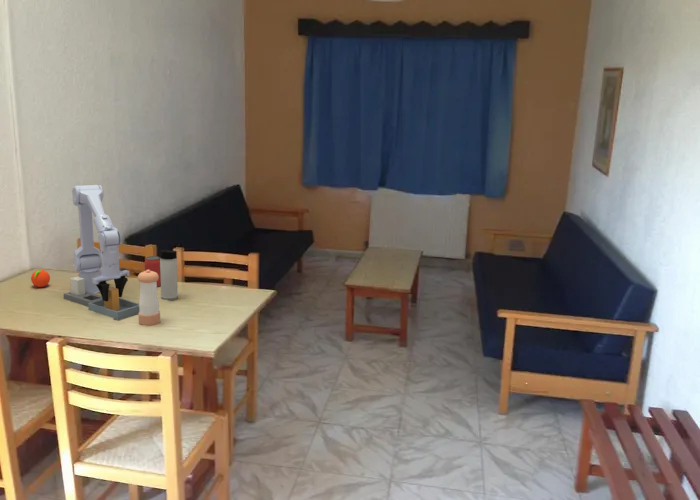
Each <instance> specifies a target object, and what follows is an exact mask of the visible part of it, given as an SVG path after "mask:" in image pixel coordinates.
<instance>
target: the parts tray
mask: <svg viewBox="0 0 700 500" xmlns="http://www.w3.org/2000/svg"><path fill="white" fill-rule="evenodd" d="M87 307H88V311H92V312H94V313H98V314H100V315H103V316H107V317H109V318H112V319H113V320H115V321H120V320H121V321H122V320H124V319H126V318H130V317H132V316H133V317H134V316H136V315H139V312H140V310H139V303H138V302H135V301H131V300H128V299H124V298H122V297H119V308H120V309H119V310H116V311H114V310H111V309H108V308H105V304H104V301H103V299H101V300H98V301H94V302H91V303H88V306H87Z"/></svg>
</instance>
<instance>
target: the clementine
mask: <svg viewBox="0 0 700 500" xmlns="http://www.w3.org/2000/svg"><path fill="white" fill-rule="evenodd" d="M50 280H51V276H50V273H49V272H48V271H46V270H44V269H37V270H35V271H34V272H32V274H31V277H30V281H31V283H32V285H34V286H35V287H38V288H44V287H46V286H47V285H49V283H50V282H51V281H50Z"/></svg>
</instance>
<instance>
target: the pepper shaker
mask: <svg viewBox="0 0 700 500" xmlns="http://www.w3.org/2000/svg"><path fill="white" fill-rule="evenodd" d="M158 278H159V276H158V274H157V273H156V272H153V271H150V270H146V271H145V270H143V271H142V272H140V273H139V274H138V275H137V281H138V282H139V283H140V284H139V285H140V286H139V289H140V295H139V300H138V301H139V303H138V304H139V310H140V312H139V314H138V324H140V325H142V326H154V325H157V324H158V325H159V324H160V323H161V311H160V301H159V297H158V288H157V282H156V281H158Z"/></svg>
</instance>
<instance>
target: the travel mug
mask: <svg viewBox="0 0 700 500" xmlns="http://www.w3.org/2000/svg"><path fill="white" fill-rule="evenodd" d="M177 254H178V252H177V250H171V249H160V250H159V255H160V256H159V257H160V258H159V259H160V271H161V285H160V298H161V299H162V300H164V301H169V300H173V301H176V300H178V296H179V295H178V293H179V292H178V257H177V256H178V255H177ZM175 299H176V300H175Z"/></svg>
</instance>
